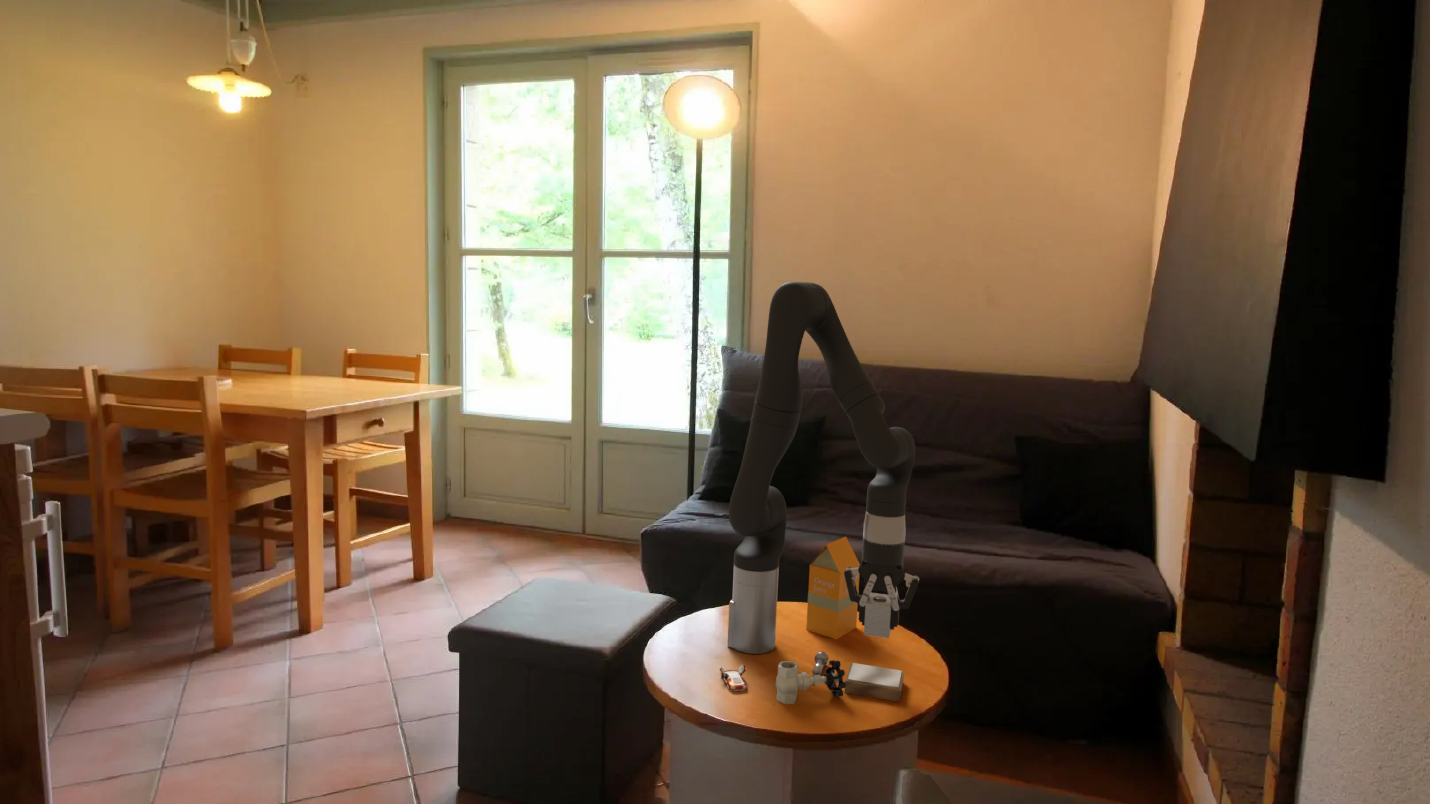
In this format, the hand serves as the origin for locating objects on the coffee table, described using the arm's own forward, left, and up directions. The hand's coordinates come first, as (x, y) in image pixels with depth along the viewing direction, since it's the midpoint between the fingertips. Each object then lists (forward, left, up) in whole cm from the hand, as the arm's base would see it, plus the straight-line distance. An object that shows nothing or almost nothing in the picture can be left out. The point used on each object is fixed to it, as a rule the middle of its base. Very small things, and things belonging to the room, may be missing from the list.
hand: (878, 625), depth 157 cm
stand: (0, 0, -12) cm, 12 cm away
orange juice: (-12, +25, -12) cm, 30 cm away
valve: (-11, -8, -12) cm, 19 cm away
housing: (0, 0, -1) cm, 1 cm away
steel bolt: (-11, +3, -12) cm, 17 cm away
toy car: (-25, -7, -13) cm, 29 cm away
